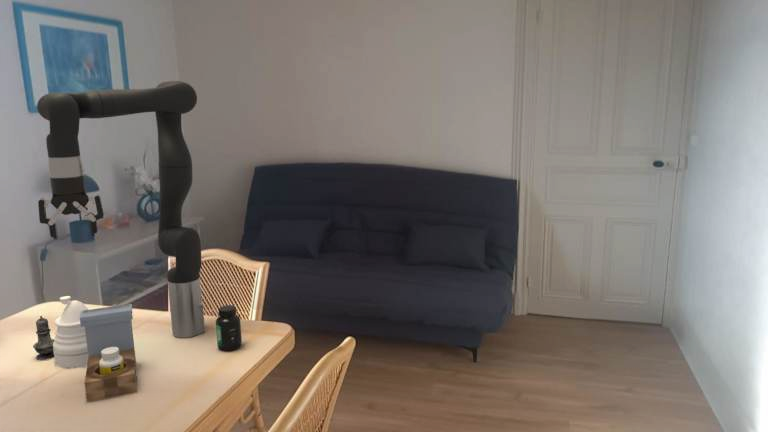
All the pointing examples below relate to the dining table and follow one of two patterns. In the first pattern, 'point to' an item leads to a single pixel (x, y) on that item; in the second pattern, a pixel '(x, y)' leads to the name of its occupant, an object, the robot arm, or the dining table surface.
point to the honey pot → (70, 336)
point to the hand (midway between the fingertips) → (75, 236)
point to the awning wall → (108, 328)
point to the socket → (110, 378)
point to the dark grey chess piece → (43, 340)
